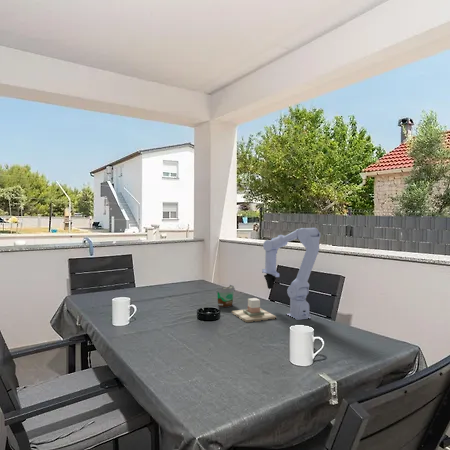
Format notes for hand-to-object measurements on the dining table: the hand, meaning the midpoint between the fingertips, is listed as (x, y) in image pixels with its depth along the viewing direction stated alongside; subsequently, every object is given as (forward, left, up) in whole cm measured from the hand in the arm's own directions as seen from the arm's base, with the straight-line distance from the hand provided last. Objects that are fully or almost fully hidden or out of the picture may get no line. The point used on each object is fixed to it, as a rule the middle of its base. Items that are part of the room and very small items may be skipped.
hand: (270, 288), depth 190 cm
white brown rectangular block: (-10, +15, -9) cm, 20 cm away
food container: (+12, +19, -11) cm, 25 cm away
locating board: (-10, +15, -10) cm, 21 cm away
